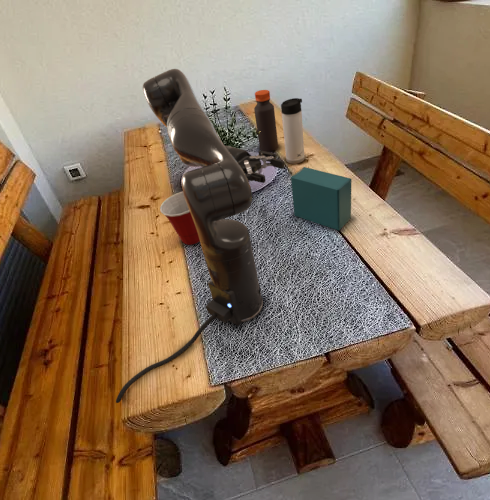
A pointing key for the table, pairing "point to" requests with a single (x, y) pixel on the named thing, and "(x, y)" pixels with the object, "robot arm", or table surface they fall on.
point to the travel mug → (293, 130)
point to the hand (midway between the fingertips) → (274, 172)
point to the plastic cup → (180, 218)
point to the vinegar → (265, 121)
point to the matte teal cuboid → (322, 197)
